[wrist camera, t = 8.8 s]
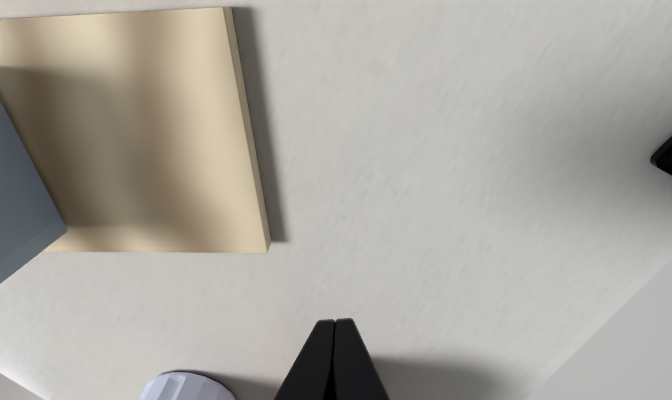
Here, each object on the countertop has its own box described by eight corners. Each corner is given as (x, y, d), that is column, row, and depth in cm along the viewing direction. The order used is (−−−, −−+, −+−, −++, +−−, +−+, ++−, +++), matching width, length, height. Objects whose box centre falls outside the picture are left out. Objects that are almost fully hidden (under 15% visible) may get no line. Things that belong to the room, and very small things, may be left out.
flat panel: (231, 6, 17) (182, 8, 12) (271, 241, 24) (249, 298, 19) (-169, 28, 18) (-341, 36, 14) (-23, 240, 25) (-106, 292, 21)
